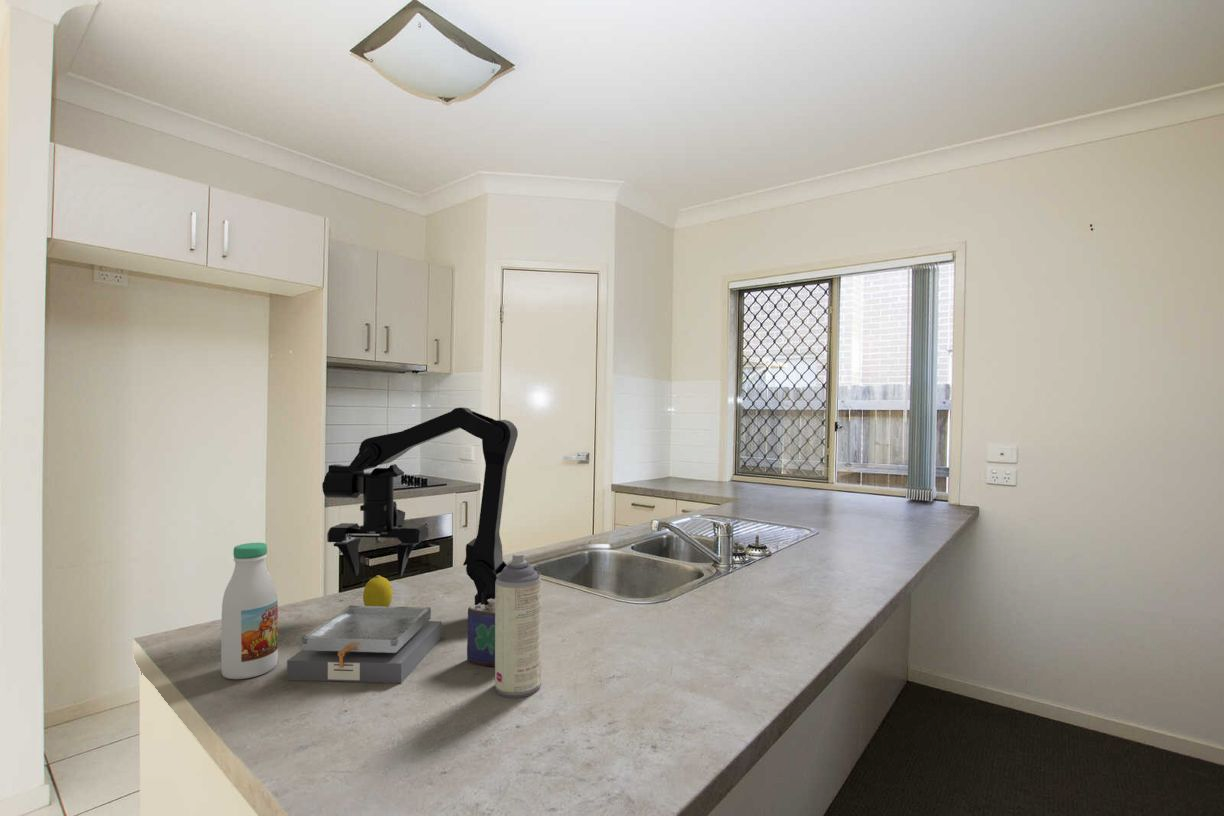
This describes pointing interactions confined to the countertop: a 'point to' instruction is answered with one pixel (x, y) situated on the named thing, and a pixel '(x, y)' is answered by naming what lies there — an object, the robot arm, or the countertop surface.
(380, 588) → the lemon
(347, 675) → the base
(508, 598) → the aerosol can
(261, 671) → the milk bottle
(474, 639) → the flask
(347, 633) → the scale pan
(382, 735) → the countertop surface
